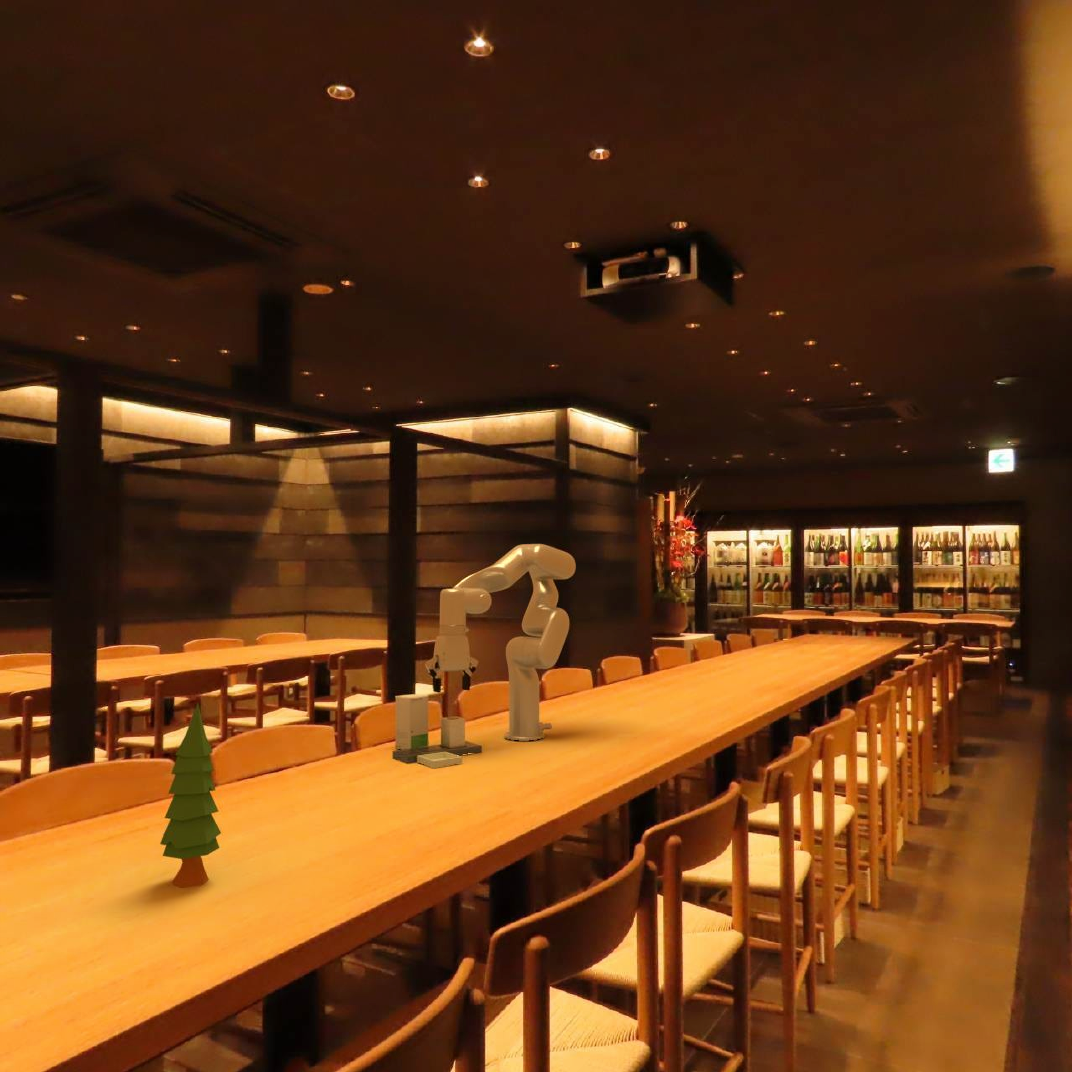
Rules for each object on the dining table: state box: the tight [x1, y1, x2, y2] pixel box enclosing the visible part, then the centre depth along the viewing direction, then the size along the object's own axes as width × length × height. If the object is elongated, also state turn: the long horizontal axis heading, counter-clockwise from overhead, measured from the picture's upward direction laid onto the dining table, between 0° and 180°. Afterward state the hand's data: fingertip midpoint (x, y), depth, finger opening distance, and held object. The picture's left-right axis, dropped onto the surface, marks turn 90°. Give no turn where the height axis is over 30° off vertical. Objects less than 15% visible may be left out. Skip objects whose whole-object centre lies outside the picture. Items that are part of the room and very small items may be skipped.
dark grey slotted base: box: [392, 740, 483, 764], centre depth 255 cm, size 24×9×2 cm, turn 126°
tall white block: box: [440, 716, 466, 749], centre depth 258 cm, size 5×5×10 cm
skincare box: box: [394, 693, 430, 750], centre depth 265 cm, size 8×7×16 cm
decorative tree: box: [159, 703, 222, 888], centre depth 152 cm, size 10×9×30 cm
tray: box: [416, 752, 463, 769], centre depth 244 cm, size 9×9×2 cm
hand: (451, 691), depth 258 cm, fingers open, 9 cm apart
